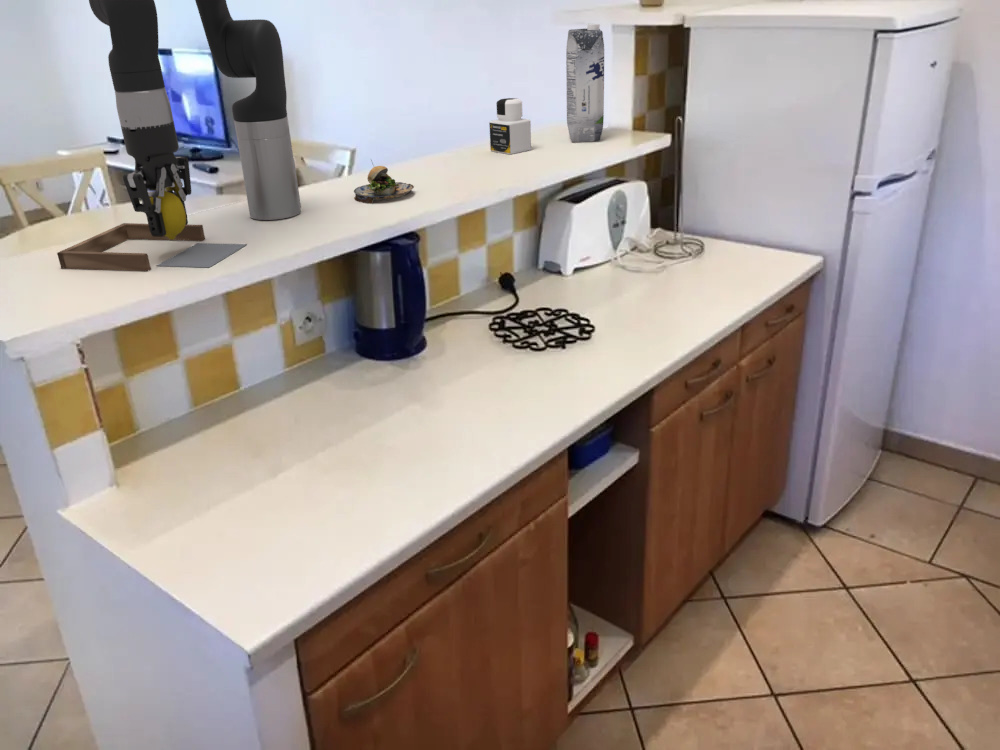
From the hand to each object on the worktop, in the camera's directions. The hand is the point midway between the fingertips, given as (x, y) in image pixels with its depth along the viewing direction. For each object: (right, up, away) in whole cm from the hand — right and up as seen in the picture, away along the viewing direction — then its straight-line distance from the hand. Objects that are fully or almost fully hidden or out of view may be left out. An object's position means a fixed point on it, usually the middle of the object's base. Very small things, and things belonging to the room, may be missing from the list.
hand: (170, 230), depth 134 cm
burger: (+30, +12, +32) cm, 45 cm away
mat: (+5, -4, 0) cm, 6 cm away
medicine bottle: (+55, +31, +69) cm, 94 cm away
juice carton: (+74, +36, +79) cm, 114 cm away
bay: (-7, -3, +3) cm, 8 cm away
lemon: (0, -2, +1) cm, 2 cm away
